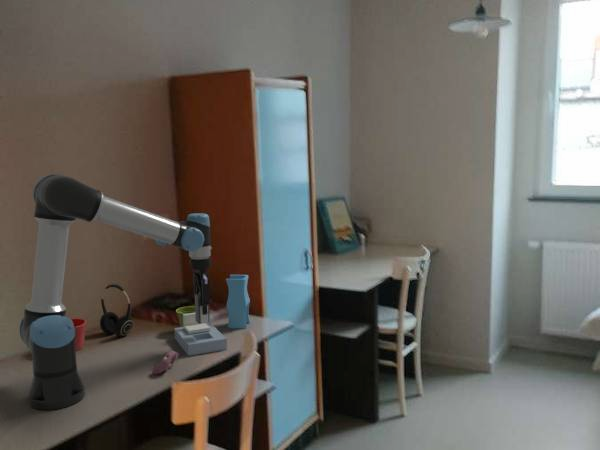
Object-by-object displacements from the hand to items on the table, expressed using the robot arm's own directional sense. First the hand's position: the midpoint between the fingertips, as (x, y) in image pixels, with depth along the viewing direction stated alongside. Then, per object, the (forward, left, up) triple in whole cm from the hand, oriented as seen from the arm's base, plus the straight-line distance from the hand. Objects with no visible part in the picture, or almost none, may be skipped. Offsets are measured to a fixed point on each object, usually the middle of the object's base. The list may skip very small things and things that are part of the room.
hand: (202, 320), depth 209 cm
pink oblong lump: (-17, -14, -10) cm, 24 cm away
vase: (+20, +18, -10) cm, 29 cm away
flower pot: (-43, +20, -10) cm, 49 cm away
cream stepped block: (0, +8, -6) cm, 10 cm away
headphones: (-26, +28, -10) cm, 40 cm away
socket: (0, +4, -10) cm, 11 cm away
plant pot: (0, +20, -10) cm, 22 cm away
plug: (0, 0, 0) cm, 0 cm away
